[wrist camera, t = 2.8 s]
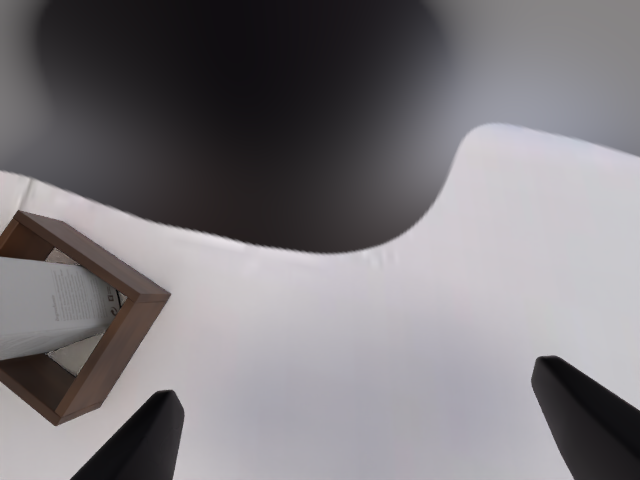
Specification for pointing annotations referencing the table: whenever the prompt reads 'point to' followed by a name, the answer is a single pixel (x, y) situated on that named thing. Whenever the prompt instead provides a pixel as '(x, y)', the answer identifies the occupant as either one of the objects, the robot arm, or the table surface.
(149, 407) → the robot arm
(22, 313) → the cosmetic box
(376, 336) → the table surface
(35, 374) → the square wooden tray
